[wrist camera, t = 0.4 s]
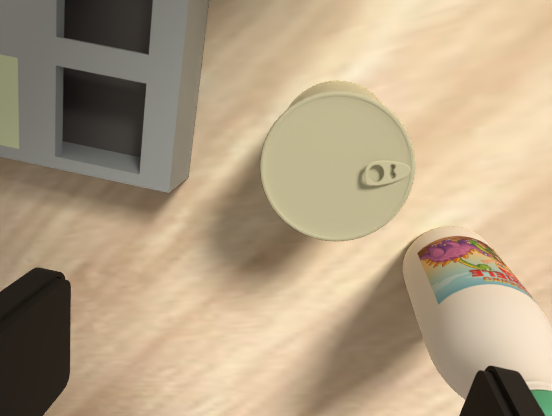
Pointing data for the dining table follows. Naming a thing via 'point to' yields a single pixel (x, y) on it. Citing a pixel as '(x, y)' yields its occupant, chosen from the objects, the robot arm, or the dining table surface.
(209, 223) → the dining table surface
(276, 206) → the can
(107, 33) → the box
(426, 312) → the milk bottle
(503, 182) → the dining table surface
